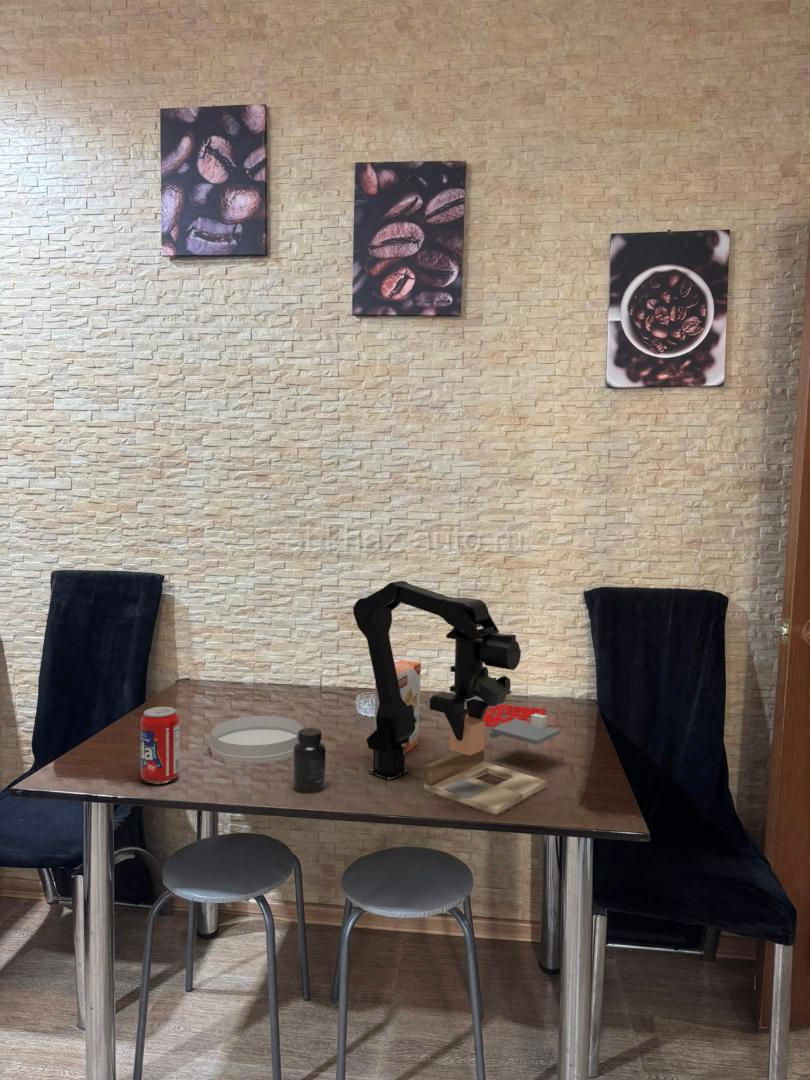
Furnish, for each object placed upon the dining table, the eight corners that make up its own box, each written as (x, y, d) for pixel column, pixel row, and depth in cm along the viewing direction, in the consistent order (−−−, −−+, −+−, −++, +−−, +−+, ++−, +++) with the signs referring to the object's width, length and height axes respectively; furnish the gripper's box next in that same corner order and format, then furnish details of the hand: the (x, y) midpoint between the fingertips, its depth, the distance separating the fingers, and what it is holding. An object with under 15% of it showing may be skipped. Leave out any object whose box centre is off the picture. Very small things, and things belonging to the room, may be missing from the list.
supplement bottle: (286, 786, 159) (286, 730, 158) (312, 778, 164) (312, 723, 163) (306, 796, 154) (306, 738, 153) (332, 787, 159) (332, 731, 158)
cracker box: (395, 764, 172) (397, 674, 171) (372, 760, 175) (373, 671, 173) (420, 745, 185) (422, 661, 184) (398, 741, 188) (399, 658, 186)
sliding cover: (489, 737, 175) (490, 717, 174) (513, 727, 182) (513, 707, 182) (537, 750, 166) (537, 729, 166) (559, 739, 174) (560, 719, 174)
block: (449, 749, 154) (450, 720, 154) (464, 743, 158) (465, 715, 158) (469, 755, 151) (470, 726, 151) (484, 749, 155) (484, 720, 154)
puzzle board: (424, 790, 158) (424, 765, 157) (477, 766, 172) (477, 742, 172) (496, 816, 146) (497, 788, 146) (546, 787, 160) (547, 762, 160)
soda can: (183, 782, 160) (183, 713, 159) (145, 789, 156) (144, 718, 155) (174, 770, 167) (174, 703, 165) (137, 776, 163) (137, 708, 162)
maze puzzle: (461, 724, 203) (461, 721, 203) (477, 704, 222) (477, 701, 222) (535, 733, 197) (535, 730, 197) (545, 711, 216) (546, 709, 216)
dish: (285, 771, 168) (285, 749, 168) (193, 762, 172) (193, 741, 172) (316, 738, 190) (316, 719, 189) (233, 731, 194) (233, 712, 194)
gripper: (475, 677, 141) (473, 759, 142) (527, 660, 155) (525, 735, 156) (428, 667, 148) (426, 745, 149) (482, 652, 162) (480, 723, 164)
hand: (467, 737), depth 154 cm, fingers closed on block, 5 cm apart
